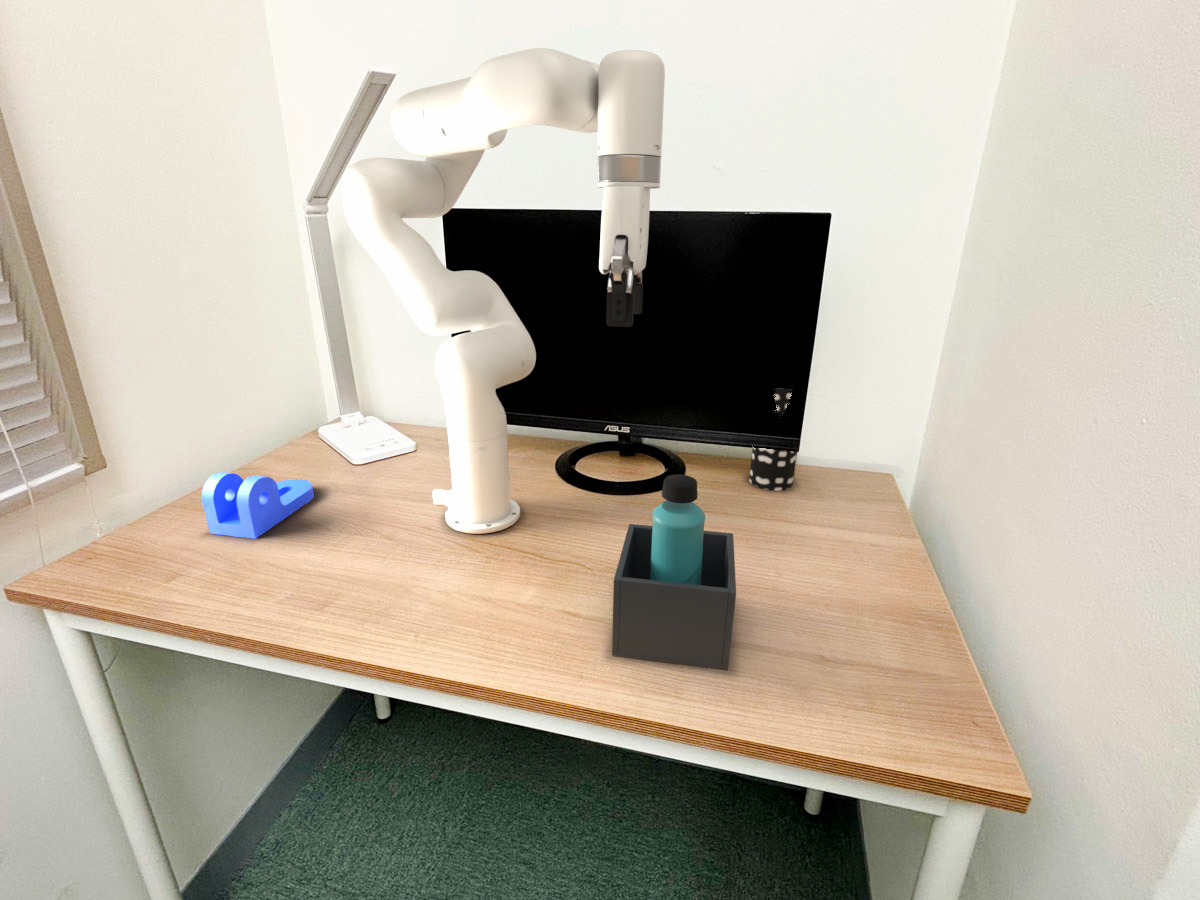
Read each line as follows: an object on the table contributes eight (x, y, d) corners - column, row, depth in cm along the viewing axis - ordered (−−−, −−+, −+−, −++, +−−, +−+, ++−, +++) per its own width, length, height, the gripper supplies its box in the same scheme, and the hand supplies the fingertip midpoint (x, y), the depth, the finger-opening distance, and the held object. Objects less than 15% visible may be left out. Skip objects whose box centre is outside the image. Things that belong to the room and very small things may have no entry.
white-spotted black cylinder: (743, 473, 125) (753, 377, 117) (783, 472, 125) (796, 377, 118) (756, 491, 117) (768, 389, 110) (799, 490, 118) (813, 388, 110)
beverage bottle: (697, 642, 75) (709, 493, 68) (643, 635, 76) (649, 488, 69) (700, 611, 81) (711, 470, 74) (649, 604, 82) (656, 466, 75)
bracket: (255, 538, 98) (244, 487, 95) (210, 533, 100) (197, 482, 96) (323, 491, 115) (315, 446, 111) (283, 487, 116) (274, 442, 113)
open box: (611, 655, 73) (613, 579, 70) (627, 591, 86) (629, 523, 82) (728, 670, 71) (736, 593, 67) (726, 601, 84) (733, 533, 80)
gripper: (609, 178, 82) (607, 308, 88) (583, 170, 66) (583, 330, 72) (665, 178, 81) (659, 310, 87) (653, 170, 65) (647, 333, 71)
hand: (625, 319), depth 80 cm, fingers open, 9 cm apart
